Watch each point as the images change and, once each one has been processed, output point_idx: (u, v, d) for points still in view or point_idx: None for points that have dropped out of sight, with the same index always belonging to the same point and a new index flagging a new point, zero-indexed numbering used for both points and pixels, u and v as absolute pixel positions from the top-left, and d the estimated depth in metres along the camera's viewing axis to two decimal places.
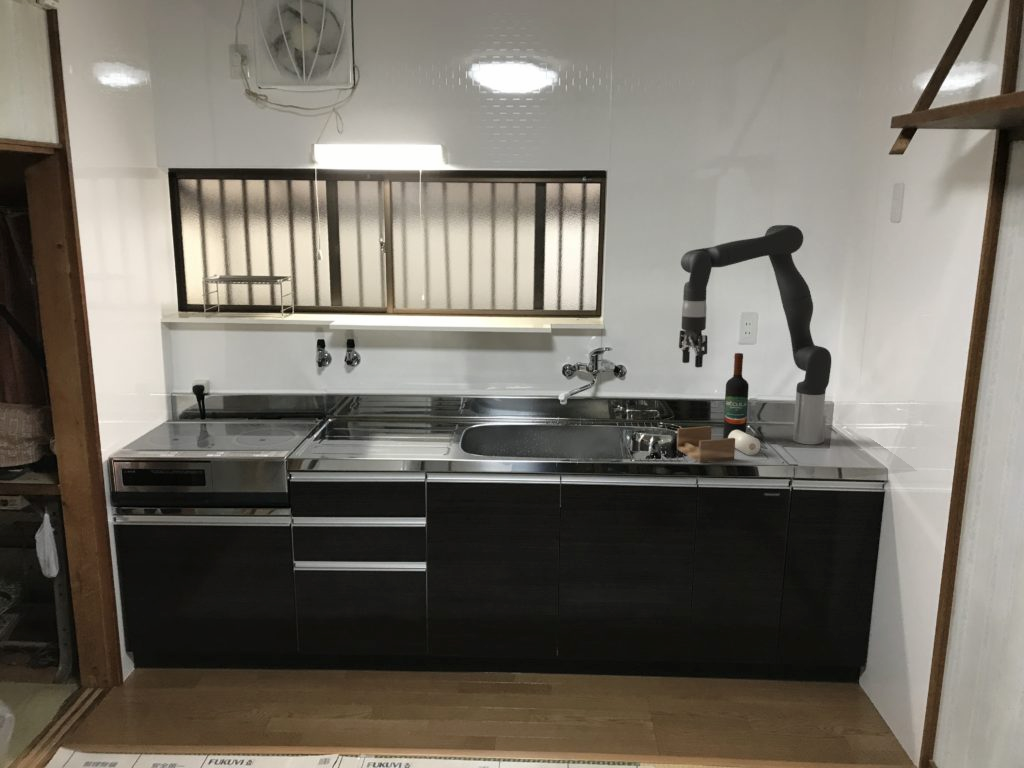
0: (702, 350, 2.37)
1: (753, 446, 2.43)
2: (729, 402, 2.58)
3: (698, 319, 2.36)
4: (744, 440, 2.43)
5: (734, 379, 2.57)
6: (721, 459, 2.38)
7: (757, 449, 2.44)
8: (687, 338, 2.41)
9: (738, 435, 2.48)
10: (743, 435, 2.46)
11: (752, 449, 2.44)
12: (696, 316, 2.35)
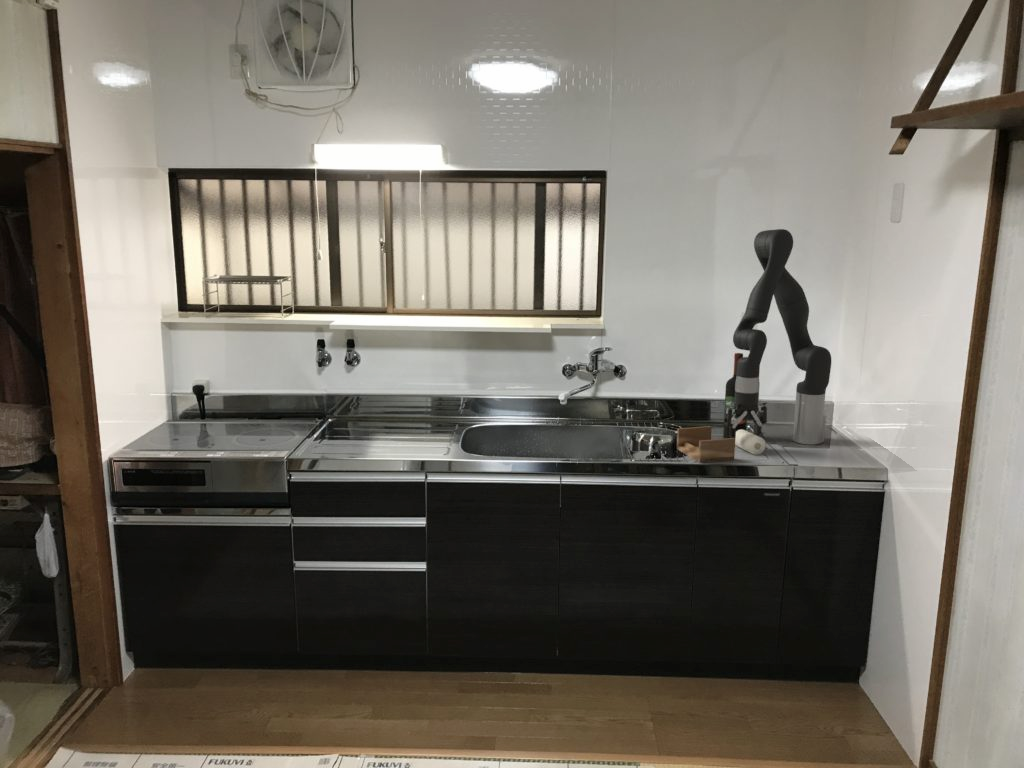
0: None
1: (758, 447, 2.44)
2: (729, 402, 2.58)
3: None
4: None
5: (734, 379, 2.57)
6: (721, 459, 2.38)
7: (755, 452, 2.45)
8: None
9: None
10: None
11: (755, 447, 2.44)
12: None
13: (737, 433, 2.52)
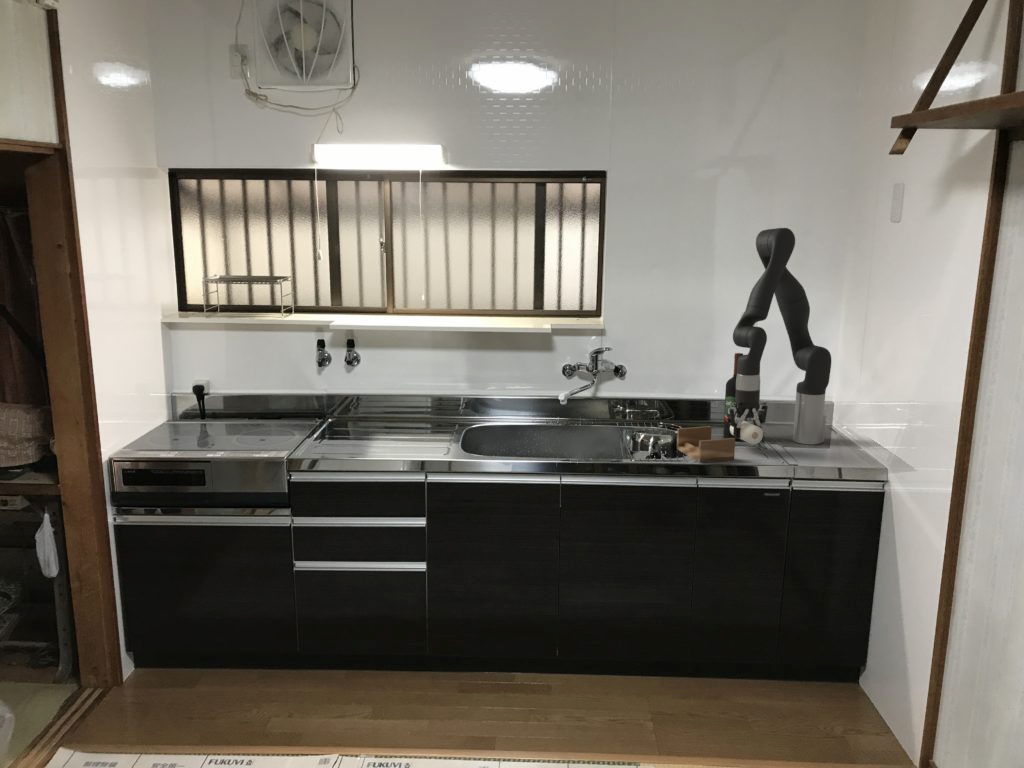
0: None
1: (756, 435, 2.43)
2: (729, 402, 2.58)
3: None
4: (752, 426, 2.43)
5: (734, 379, 2.57)
6: (721, 459, 2.38)
7: (756, 441, 2.43)
8: None
9: (746, 422, 2.47)
10: None
11: (753, 437, 2.43)
12: None
13: (732, 427, 2.50)
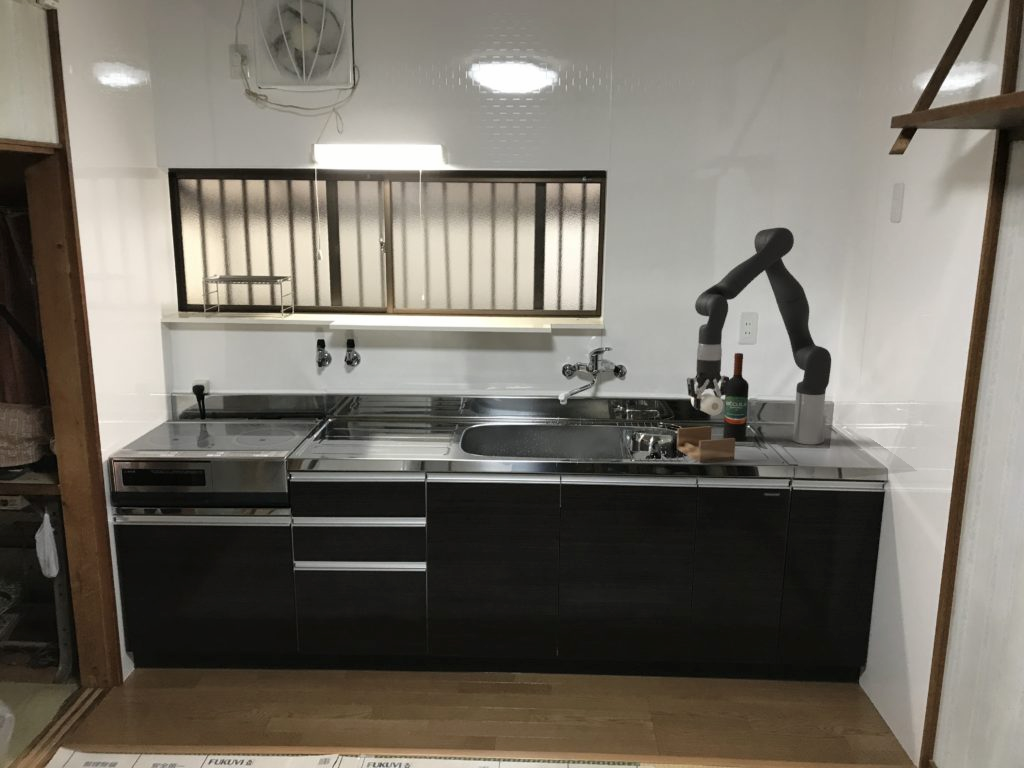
0: None
1: (715, 406, 2.37)
2: (729, 402, 2.58)
3: None
4: (712, 396, 2.37)
5: (734, 379, 2.57)
6: (721, 459, 2.38)
7: (716, 412, 2.38)
8: None
9: (707, 393, 2.42)
10: (712, 395, 2.41)
11: (713, 408, 2.37)
12: None
13: (693, 398, 2.45)
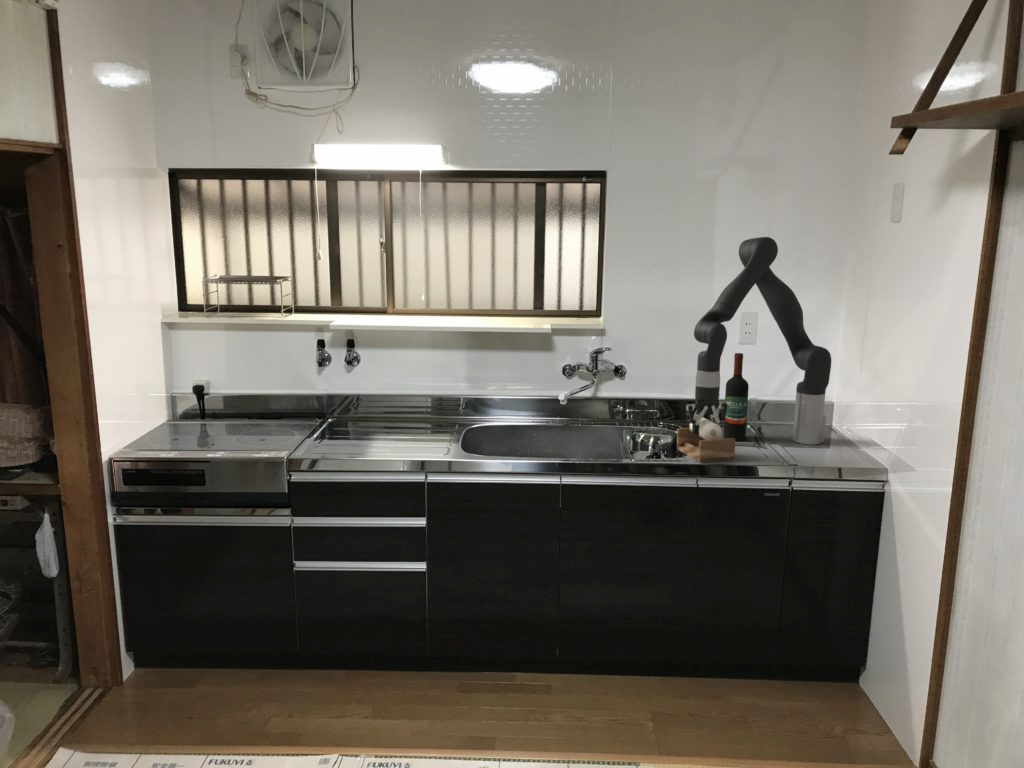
0: None
1: (714, 433, 2.39)
2: (729, 402, 2.58)
3: None
4: (710, 423, 2.39)
5: (734, 379, 2.57)
6: (721, 459, 2.38)
7: None
8: None
9: (705, 419, 2.44)
10: (710, 421, 2.43)
11: (711, 435, 2.39)
12: None
13: (691, 424, 2.47)
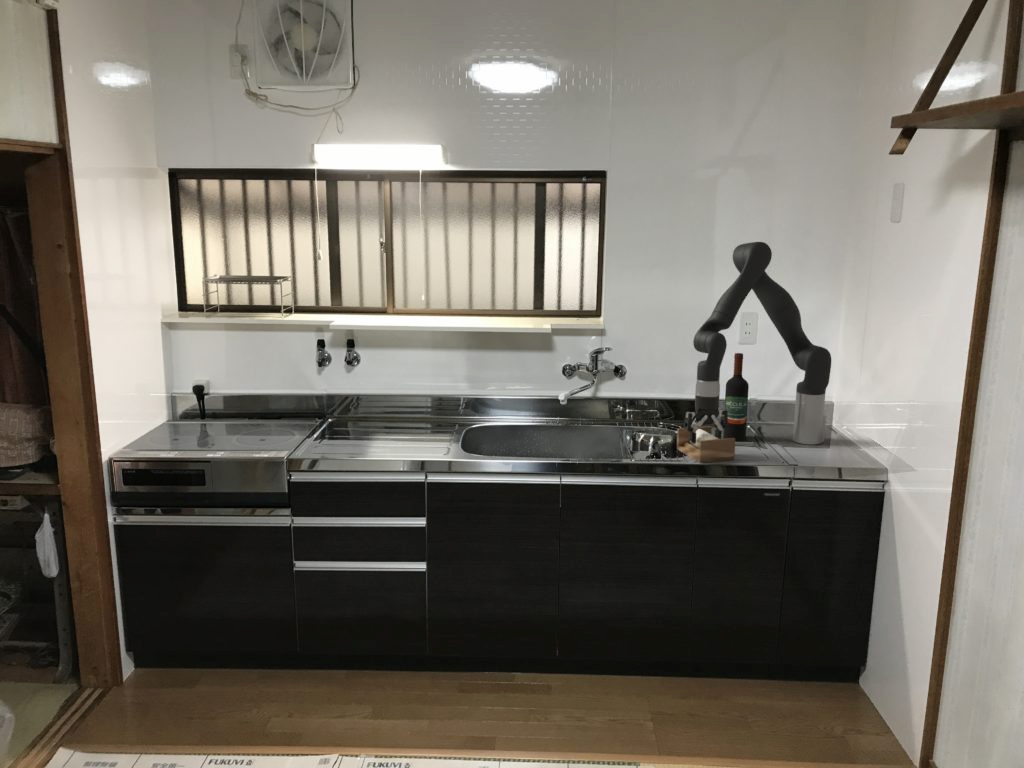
0: None
1: None
2: (729, 402, 2.58)
3: None
4: (710, 436, 2.40)
5: (734, 379, 2.57)
6: (721, 459, 2.38)
7: None
8: None
9: (705, 432, 2.45)
10: (710, 434, 2.43)
11: None
12: None
13: None
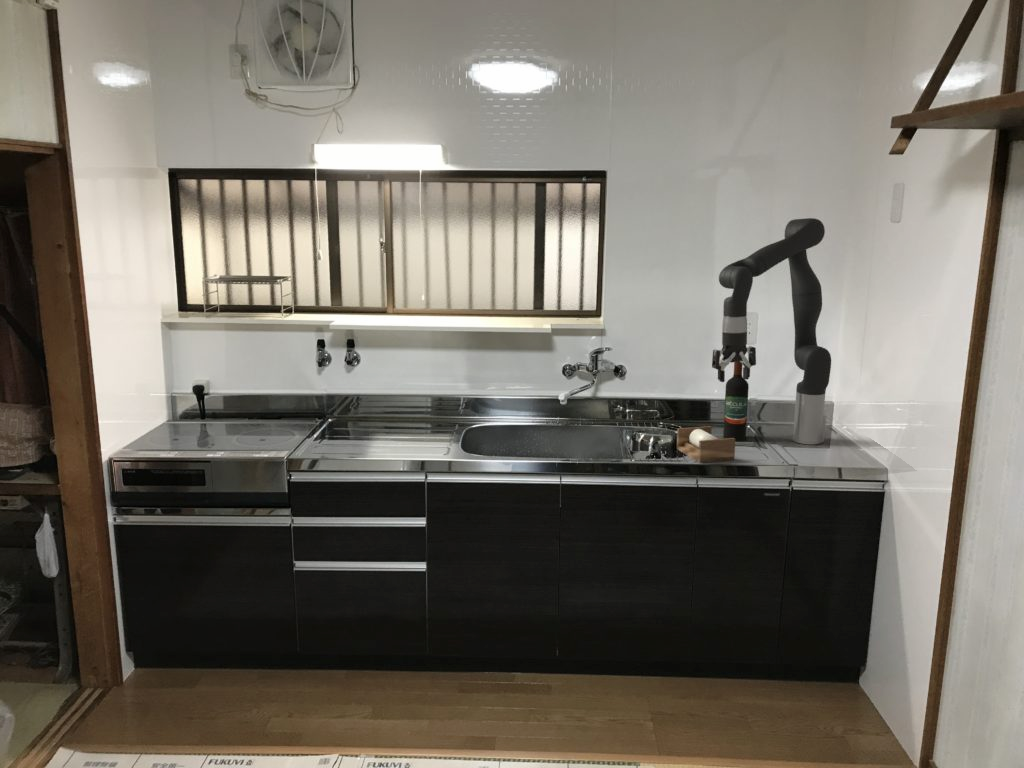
0: None
1: None
2: (729, 402, 2.58)
3: None
4: (709, 436, 2.40)
5: (734, 379, 2.57)
6: (721, 459, 2.38)
7: None
8: None
9: (704, 432, 2.45)
10: (709, 434, 2.43)
11: None
12: None
13: (691, 437, 2.47)
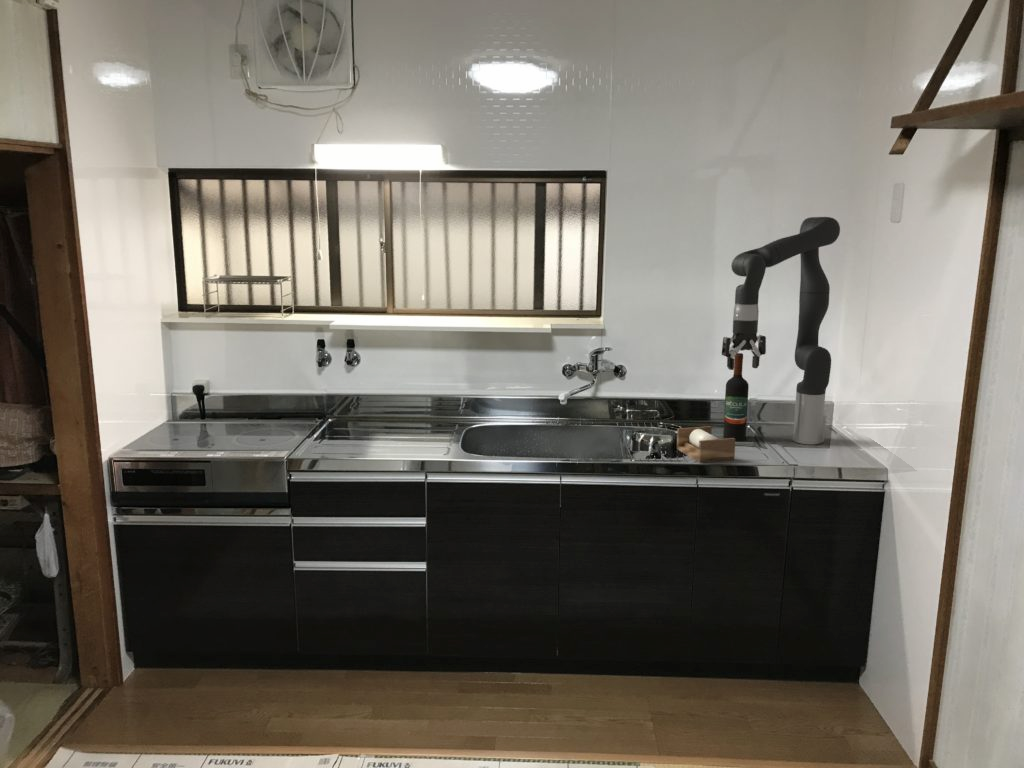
0: None
1: None
2: (729, 402, 2.58)
3: None
4: (709, 436, 2.40)
5: (734, 379, 2.57)
6: (721, 459, 2.38)
7: None
8: None
9: (704, 432, 2.45)
10: (709, 434, 2.43)
11: None
12: None
13: (691, 437, 2.47)
